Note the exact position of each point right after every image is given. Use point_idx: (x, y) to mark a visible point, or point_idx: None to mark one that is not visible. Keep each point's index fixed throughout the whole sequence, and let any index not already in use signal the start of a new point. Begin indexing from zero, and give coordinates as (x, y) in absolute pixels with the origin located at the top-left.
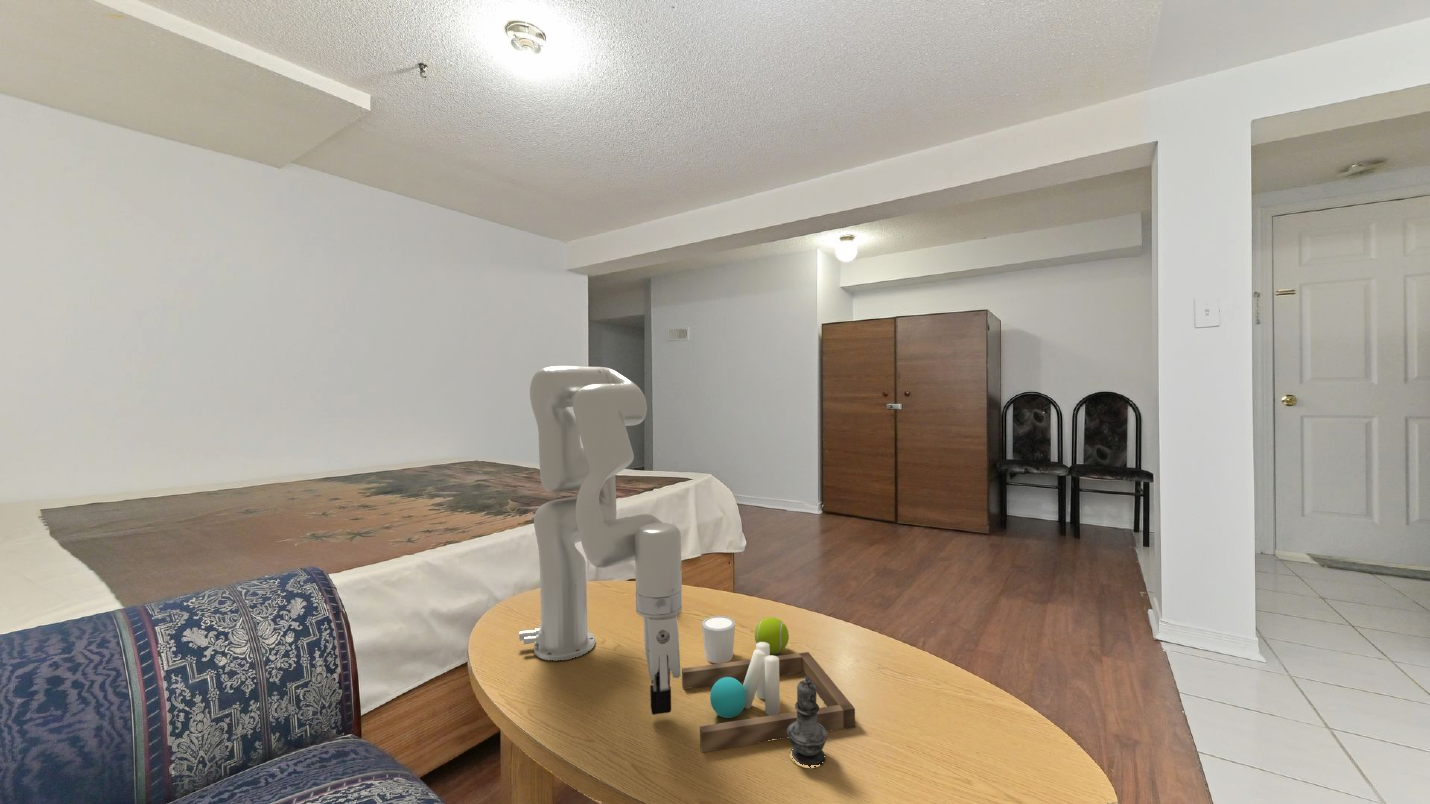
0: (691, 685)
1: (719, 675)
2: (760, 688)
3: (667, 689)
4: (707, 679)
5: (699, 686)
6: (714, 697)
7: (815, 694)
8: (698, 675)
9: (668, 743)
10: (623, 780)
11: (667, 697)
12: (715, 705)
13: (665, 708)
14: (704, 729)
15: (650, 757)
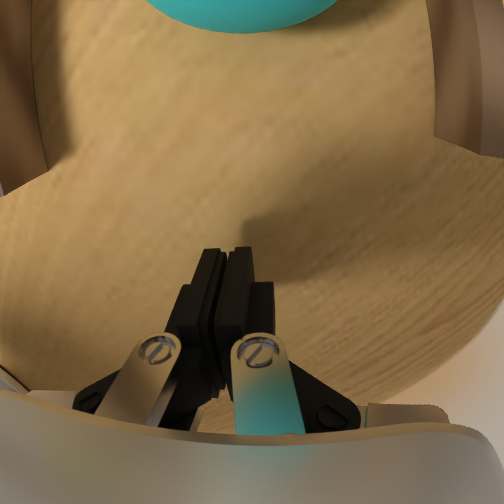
0: (35, 141)
1: (7, 33)
2: None
3: (445, 416)
4: (15, 79)
5: (35, 108)
6: (307, 1)
7: None
8: (4, 120)
9: (385, 244)
10: (453, 342)
11: (249, 304)
12: (319, 12)
13: (273, 286)
14: (499, 140)
15: (420, 296)
